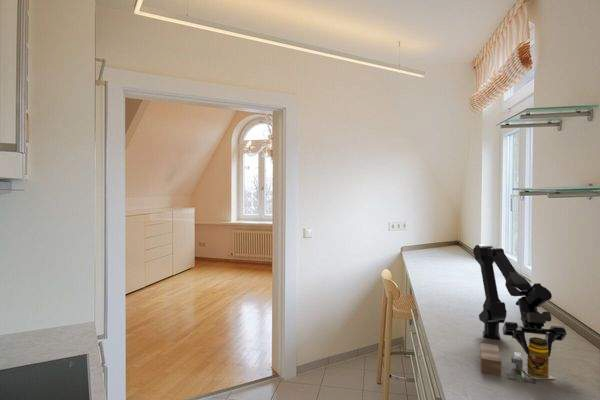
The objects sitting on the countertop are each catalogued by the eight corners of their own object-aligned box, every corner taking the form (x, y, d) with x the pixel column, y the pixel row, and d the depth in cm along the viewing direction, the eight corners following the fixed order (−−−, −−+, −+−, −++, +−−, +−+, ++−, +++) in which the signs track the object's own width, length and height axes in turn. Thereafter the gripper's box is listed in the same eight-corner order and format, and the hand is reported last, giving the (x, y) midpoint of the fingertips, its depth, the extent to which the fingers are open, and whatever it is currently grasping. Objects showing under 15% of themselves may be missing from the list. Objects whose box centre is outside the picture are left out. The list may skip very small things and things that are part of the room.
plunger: (510, 362, 134) (510, 351, 134) (519, 364, 133) (520, 352, 133) (513, 376, 124) (513, 364, 124) (524, 378, 123) (524, 366, 123)
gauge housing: (480, 355, 142) (480, 342, 141) (529, 363, 135) (529, 350, 135) (481, 373, 128) (481, 359, 128) (535, 383, 121) (536, 368, 121)
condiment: (533, 379, 124) (533, 344, 124) (518, 367, 133) (519, 333, 132) (555, 379, 124) (556, 344, 124) (539, 367, 132) (540, 334, 132)
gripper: (505, 299, 134) (512, 342, 124) (565, 304, 128) (578, 349, 118) (499, 313, 142) (506, 355, 131) (556, 318, 136) (567, 362, 126)
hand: (538, 355), depth 127 cm, fingers closed on condiment, 6 cm apart
